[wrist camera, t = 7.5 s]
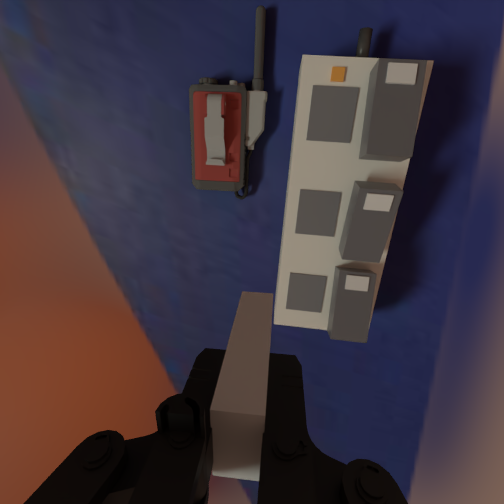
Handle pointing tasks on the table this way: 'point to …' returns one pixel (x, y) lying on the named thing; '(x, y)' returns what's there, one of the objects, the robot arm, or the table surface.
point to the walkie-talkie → (227, 124)
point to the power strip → (327, 182)
